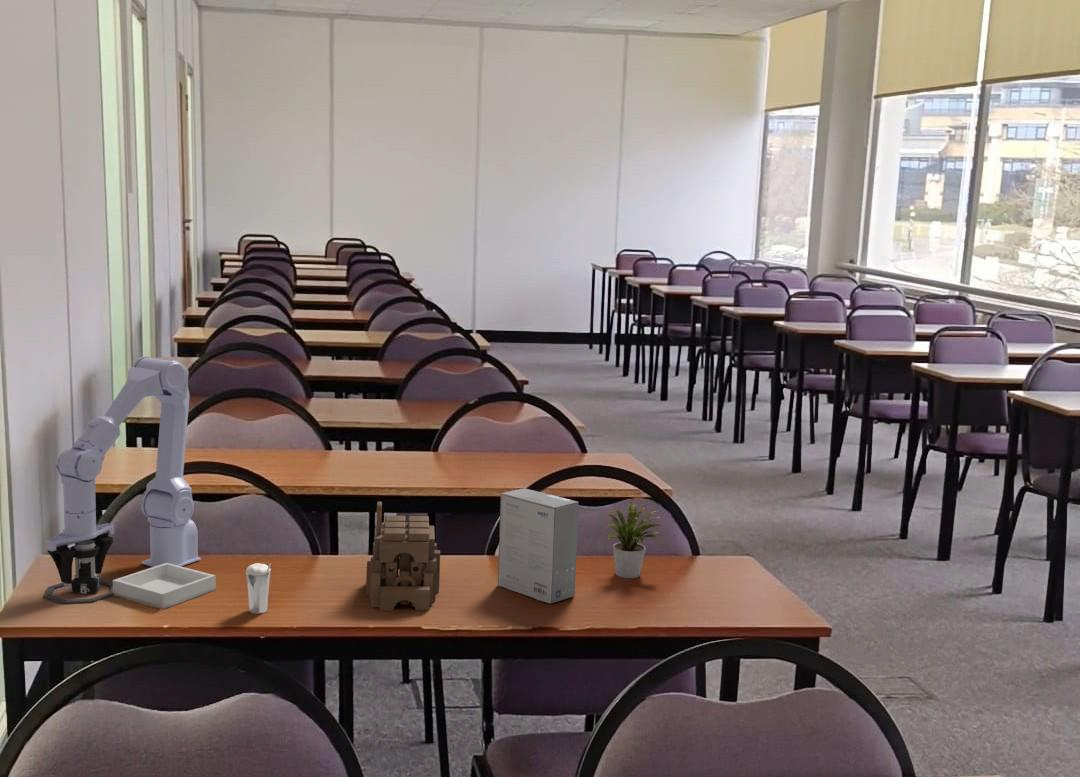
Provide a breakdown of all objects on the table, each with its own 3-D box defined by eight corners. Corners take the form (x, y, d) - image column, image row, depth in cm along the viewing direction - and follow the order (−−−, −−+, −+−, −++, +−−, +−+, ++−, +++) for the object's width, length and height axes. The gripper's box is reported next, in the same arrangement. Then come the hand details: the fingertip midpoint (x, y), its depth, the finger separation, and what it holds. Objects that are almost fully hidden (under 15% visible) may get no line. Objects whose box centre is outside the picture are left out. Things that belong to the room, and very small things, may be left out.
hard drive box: (576, 597, 232) (580, 502, 229) (550, 605, 227) (555, 508, 224) (521, 578, 243) (524, 486, 240) (495, 585, 237) (499, 492, 234)
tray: (166, 576, 234) (166, 562, 234) (215, 589, 228) (215, 575, 227) (112, 595, 222) (112, 580, 222) (162, 609, 216) (162, 594, 215)
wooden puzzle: (440, 611, 222) (442, 518, 219) (363, 611, 220) (365, 517, 217) (438, 574, 243) (440, 489, 240) (368, 574, 242) (370, 488, 239)
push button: (60, 596, 220) (59, 546, 219) (67, 587, 226) (66, 538, 224) (96, 596, 221) (95, 546, 220) (103, 587, 227) (102, 538, 225)
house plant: (623, 591, 237) (627, 514, 234) (579, 572, 248) (583, 499, 245) (671, 579, 246) (676, 505, 243) (627, 562, 257) (631, 491, 254)
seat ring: (86, 576, 232) (86, 574, 232) (131, 589, 226) (131, 587, 226) (30, 594, 221) (30, 592, 221) (76, 608, 215) (76, 606, 215)
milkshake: (261, 617, 214) (261, 566, 212) (240, 611, 217) (240, 560, 215) (278, 611, 218) (279, 560, 216) (258, 604, 220) (258, 555, 219)
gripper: (96, 498, 229) (98, 564, 231) (33, 514, 216) (35, 583, 219) (121, 504, 226) (122, 570, 228) (58, 520, 213) (60, 590, 215)
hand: (81, 577), depth 223 cm, fingers open, 6 cm apart
